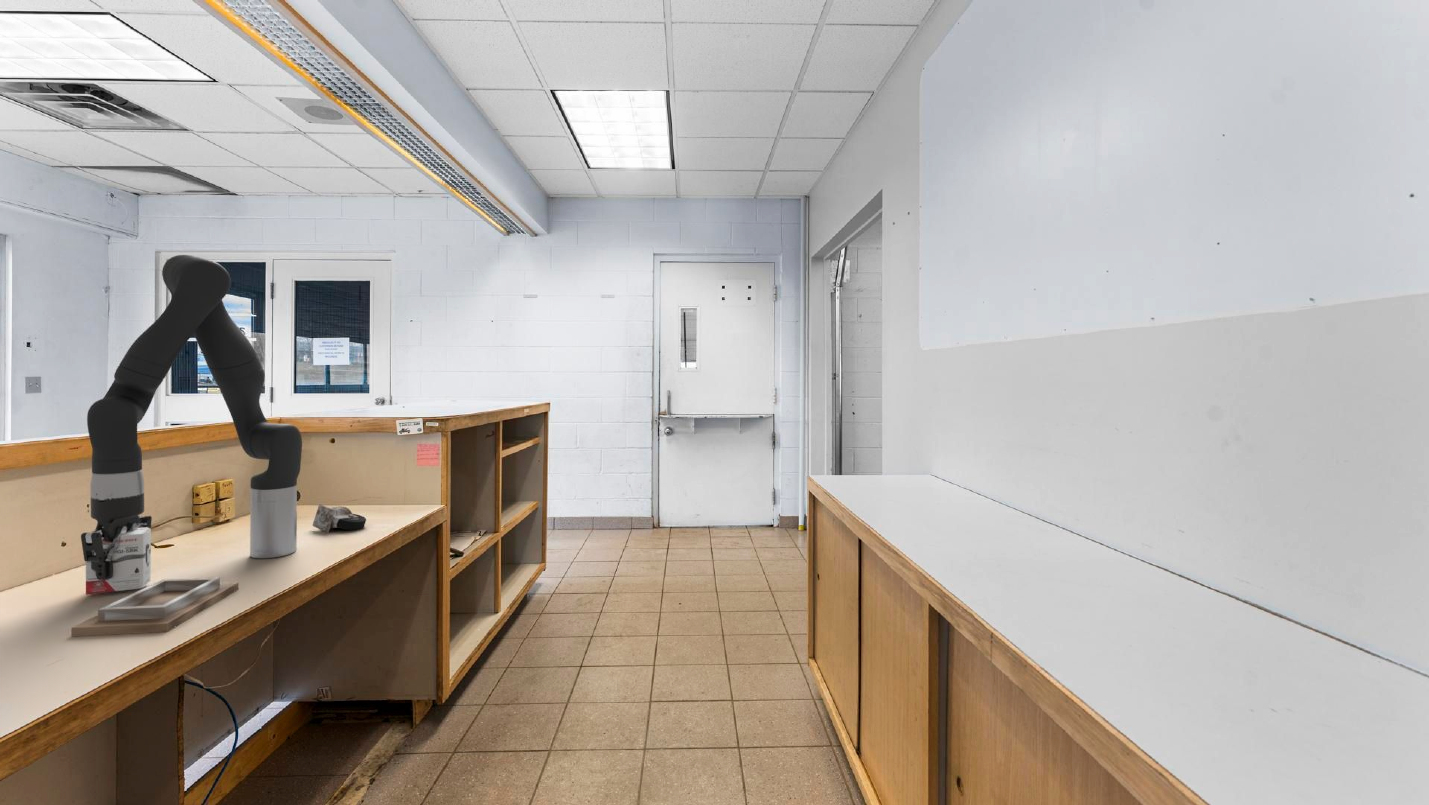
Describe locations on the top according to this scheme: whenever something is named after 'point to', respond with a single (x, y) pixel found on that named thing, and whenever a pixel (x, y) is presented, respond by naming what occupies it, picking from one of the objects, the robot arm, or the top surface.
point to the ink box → (124, 564)
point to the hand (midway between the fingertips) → (119, 573)
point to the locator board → (156, 607)
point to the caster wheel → (337, 519)
